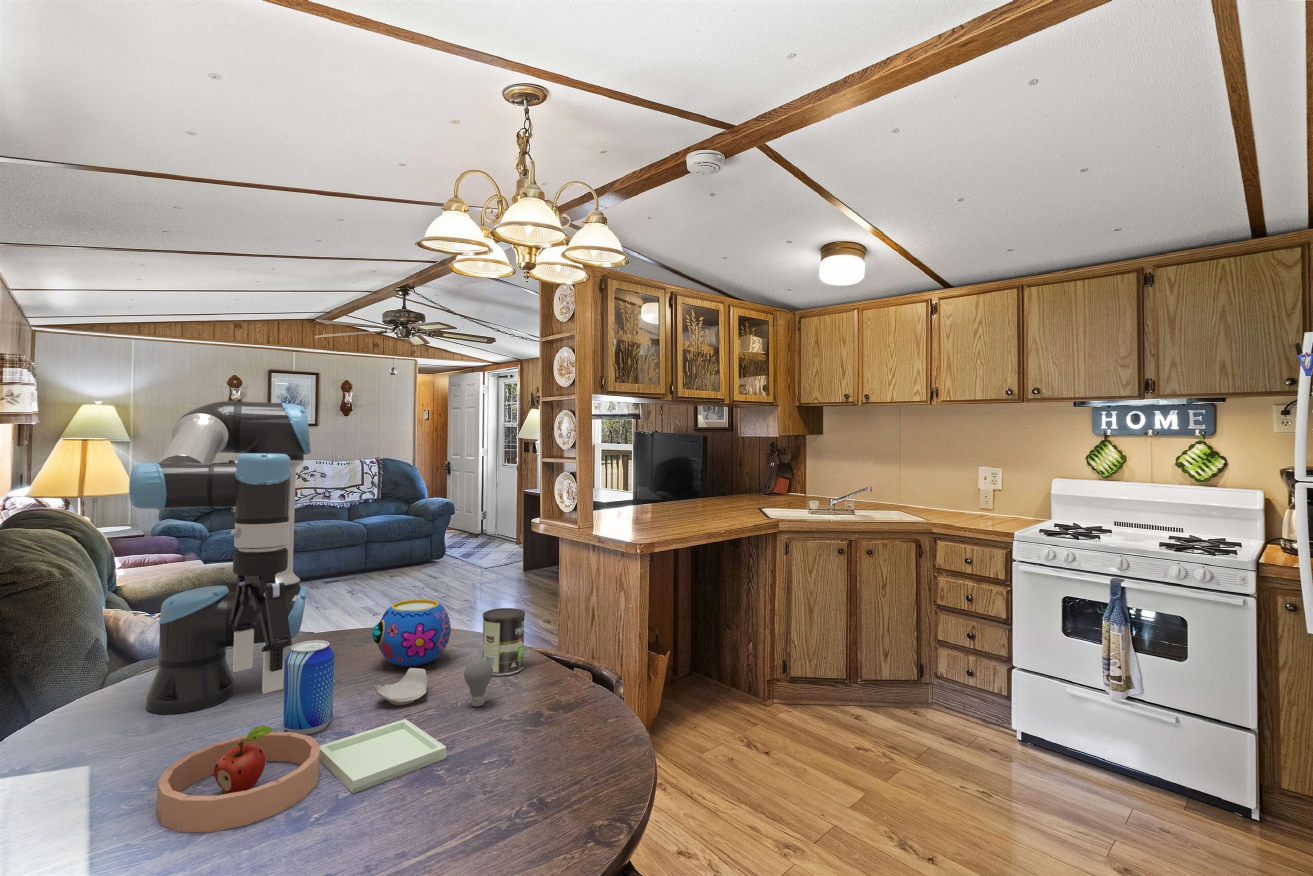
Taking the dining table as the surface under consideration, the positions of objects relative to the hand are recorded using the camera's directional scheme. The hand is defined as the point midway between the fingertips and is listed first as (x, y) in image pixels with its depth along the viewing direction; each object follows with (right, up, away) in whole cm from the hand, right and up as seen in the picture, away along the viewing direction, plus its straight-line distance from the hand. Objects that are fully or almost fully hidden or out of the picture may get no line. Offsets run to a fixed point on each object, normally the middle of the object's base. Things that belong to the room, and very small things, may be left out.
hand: (257, 679), depth 100 cm
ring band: (-2, -17, -1) cm, 17 cm away
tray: (+16, -18, +10) cm, 26 cm away
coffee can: (+26, -19, +55) cm, 64 cm away
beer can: (-4, -18, +21) cm, 28 cm away
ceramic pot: (+3, -19, +58) cm, 61 cm away
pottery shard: (+9, -18, +35) cm, 41 cm away
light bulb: (+26, -19, +33) cm, 46 cm away
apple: (-2, -18, -1) cm, 18 cm away
